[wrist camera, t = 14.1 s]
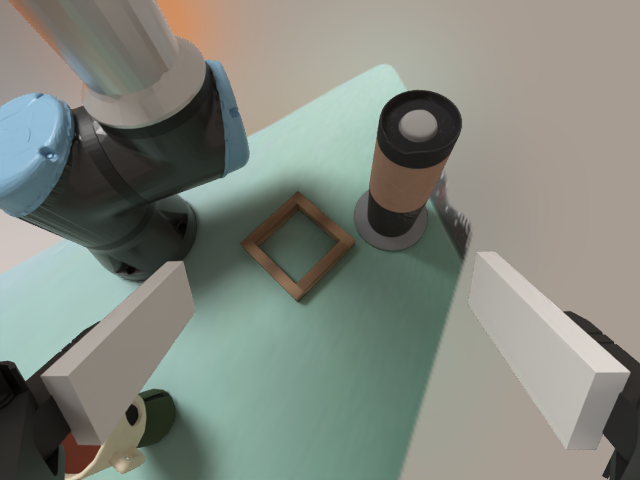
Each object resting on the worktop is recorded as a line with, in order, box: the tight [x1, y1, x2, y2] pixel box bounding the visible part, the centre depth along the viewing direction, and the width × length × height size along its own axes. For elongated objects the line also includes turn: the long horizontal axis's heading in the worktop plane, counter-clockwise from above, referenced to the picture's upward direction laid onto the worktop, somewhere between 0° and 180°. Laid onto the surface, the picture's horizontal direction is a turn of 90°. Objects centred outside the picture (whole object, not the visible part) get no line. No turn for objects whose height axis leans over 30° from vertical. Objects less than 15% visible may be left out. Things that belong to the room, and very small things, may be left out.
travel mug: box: [367, 90, 462, 237], centre depth 37 cm, size 8×8×20 cm
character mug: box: [61, 389, 175, 480], centre depth 33 cm, size 11×7×13 cm, turn 58°
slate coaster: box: [354, 190, 428, 251], centre depth 47 cm, size 11×11×1 cm
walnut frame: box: [240, 192, 355, 302], centre depth 46 cm, size 12×12×2 cm
